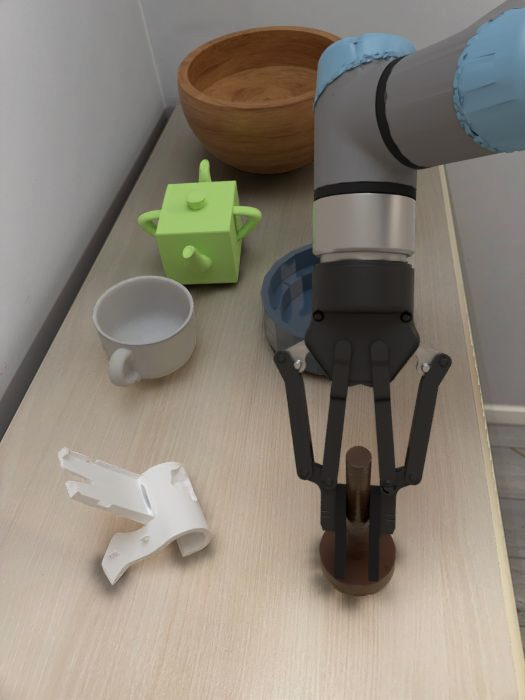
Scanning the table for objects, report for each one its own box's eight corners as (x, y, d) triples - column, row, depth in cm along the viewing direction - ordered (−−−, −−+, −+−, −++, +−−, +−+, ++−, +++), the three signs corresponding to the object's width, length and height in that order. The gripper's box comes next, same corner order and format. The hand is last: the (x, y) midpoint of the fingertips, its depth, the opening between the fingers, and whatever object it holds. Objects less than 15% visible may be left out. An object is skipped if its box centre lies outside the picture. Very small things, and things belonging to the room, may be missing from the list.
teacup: (143, 314, 83) (127, 264, 77) (220, 336, 79) (210, 286, 73) (76, 396, 75) (53, 348, 69) (158, 426, 71) (141, 377, 65)
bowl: (222, 114, 115) (209, 23, 103) (369, 122, 108) (371, 26, 97) (170, 201, 99) (147, 104, 88) (338, 216, 93) (337, 114, 81)
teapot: (214, 217, 95) (203, 149, 87) (284, 254, 88) (279, 184, 80) (131, 273, 88) (110, 206, 80) (199, 318, 81) (184, 249, 74)
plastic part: (214, 544, 61) (195, 476, 53) (108, 589, 59) (70, 525, 51) (188, 479, 66) (166, 407, 58) (90, 518, 64) (52, 449, 56)
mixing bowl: (429, 298, 80) (434, 259, 76) (378, 399, 71) (380, 362, 66) (303, 265, 86) (300, 227, 82) (240, 354, 77) (234, 316, 72)
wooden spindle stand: (405, 543, 59) (418, 436, 47) (378, 609, 55) (386, 511, 43) (337, 516, 61) (334, 407, 50) (307, 577, 58) (296, 476, 46)
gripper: (459, 265, 53) (451, 562, 54) (270, 265, 55) (266, 550, 56) (474, 256, 45) (465, 601, 46) (256, 256, 47) (251, 585, 49)
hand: (356, 573), depth 51 cm, fingers closed on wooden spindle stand, 2 cm apart
